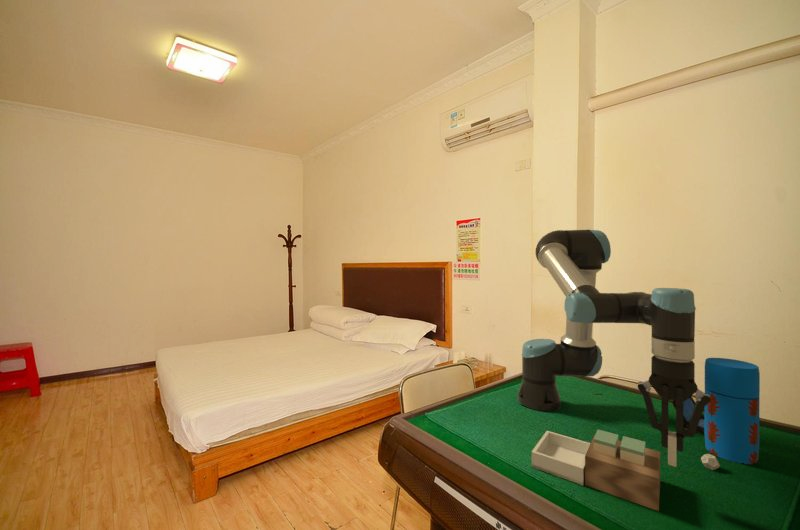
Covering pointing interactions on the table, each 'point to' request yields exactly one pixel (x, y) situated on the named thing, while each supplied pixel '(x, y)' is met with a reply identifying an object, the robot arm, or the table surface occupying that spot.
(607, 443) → the tile
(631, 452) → the tile
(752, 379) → the thermos
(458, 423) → the table surface
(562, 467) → the bin
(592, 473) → the walnut block
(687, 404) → the handheld game console
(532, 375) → the robot arm
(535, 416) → the table surface
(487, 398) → the table surface
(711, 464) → the game die
